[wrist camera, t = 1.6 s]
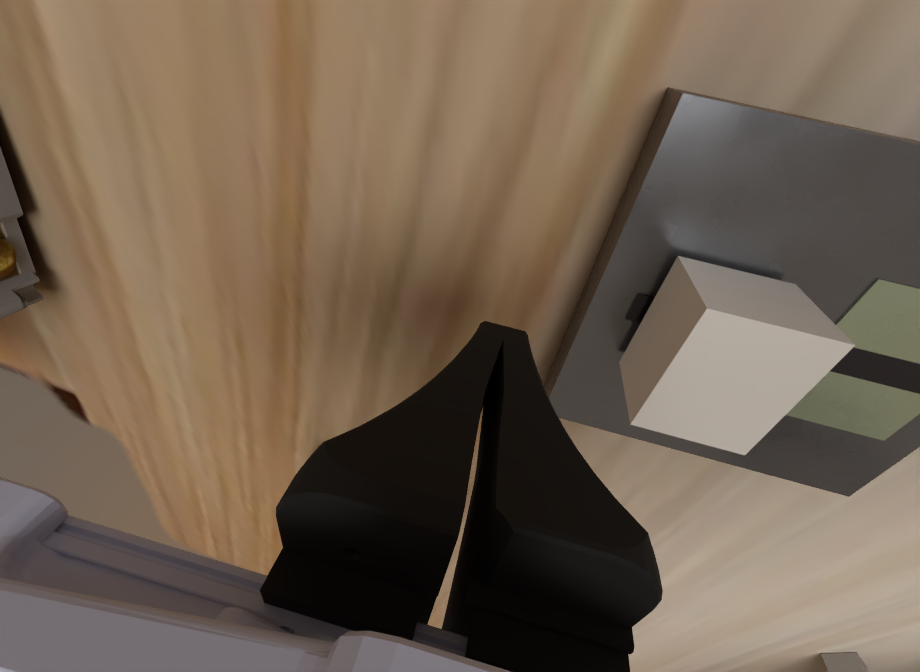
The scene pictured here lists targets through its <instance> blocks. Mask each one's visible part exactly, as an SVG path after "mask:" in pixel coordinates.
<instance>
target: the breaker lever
mask: <svg viewBox="0 0 920 672" xmlns="http://www.w3.org/2000/svg"><path fill="white" fill-rule="evenodd" d="M854 346H855V344H854V343H853V342H852V341H851V340H850V339H849V338H848V337H847V336H846V335H845V334H844V333H843V332H842V331H841V330H840V329H839V328H838V327H837V326H836V325H835V324H834V323H833V322H832V321H831V320H830V319H829V318H828V317H827V316H826V315H825V314H824V313H823V312H822V311H821V310H820V309H819V308H818V307H817V306H816V305H815V304H814V303H813V301H812V300H811V299H810V298H809V297H808V296H807V295H806V294H805V293H804V292H803V291H802V290H801V289H800V288H799V287H798V286H797V285H796V284H793V283H789V282H785V281H780V280H776V279H772V278H768V277H764V276H760V275H756V274H751V273H747V272H743V271H739V270H735V269H731V268H727V267H722V266H718V265H714V264H710V263H706V262H702V261H698V260H693V259H689V258H685V257H681V256H678V257H677V258H676V260H675V262H674V264H673V266H672V267H671V269H670V271H669V273H668V275H667V276H666V278H665V280H664V282H663V284H662V286H661V287H660V289H659V291H658V293H657V295H656V296H655V298H654V300H653V302H652V304H651V305H650V307H649V309H648V311H647V313H646V314H645V316H644V318H643V320H642V322H641V324H640V325H639V327H638V329H637V331H636V333H635V334H634V336H633V338H632V340H631V342H630V343H629V345H628V347H627V349H626V351H625V353H624V354H623V356H622V358H621V360H620V362H619V364H620V370H621V375H622V381H623V387H624V392H625V398H626V403H627V409H628V414H629V420H630V425H634V426H638V427H641V428H645V429H649V430H652V431H656V432H660V433H664V434H667V435H671V436H675V437H678V438H682V439H686V440H690V441H693V442H697V443H701V444H704V445H708V446H712V447H715V448H719V449H723V450H727V451H730V452H734V453H738V454H741V455H746V454H747V453H748V452H749V451H750V450H751V449H752V448H753V447H754V446H755V445H756V444H757V443H758V442H759V441H760V440H761V439H762V438H763V437H764V436H765V435H766V434H767V433H768V432H769V431H770V430H771V429H772V428H773V427H774V426H775V425H776V424H777V423H778V422H779V421H780V420H781V419H782V418H783V417H784V416H785V415H786V414H787V413H788V412H789V411H790V410H791V409H792V408H793V407H794V406H795V405H796V404H797V403H798V402H799V401H800V400H801V399H802V398H803V397H804V396H805V395H806V394H807V393H808V392H809V391H810V390H811V389H812V388H813V387H814V386H815V385H816V384H817V383H818V382H819V381H820V380H821V379H822V378H823V377H824V376H825V375H826V374H827V373H828V372H829V371H830V370H831V369H832V368H833V367H834V366H835V365H836V364H837V363H838V362H839V361H840V360H841V359H842V358H843V357H844V356H845V355H846V354H847V353H848V352H849V351H850V350H851V349H852V348H853V347H854Z"/></svg>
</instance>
